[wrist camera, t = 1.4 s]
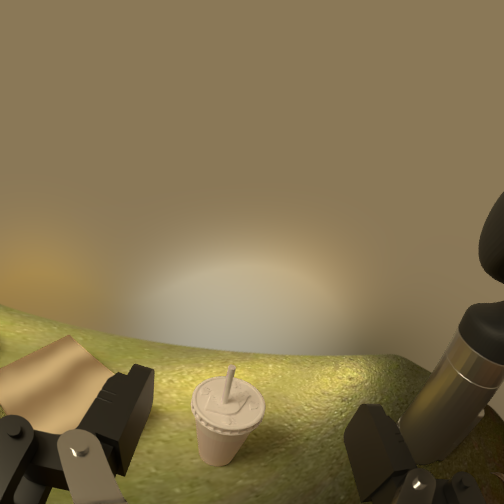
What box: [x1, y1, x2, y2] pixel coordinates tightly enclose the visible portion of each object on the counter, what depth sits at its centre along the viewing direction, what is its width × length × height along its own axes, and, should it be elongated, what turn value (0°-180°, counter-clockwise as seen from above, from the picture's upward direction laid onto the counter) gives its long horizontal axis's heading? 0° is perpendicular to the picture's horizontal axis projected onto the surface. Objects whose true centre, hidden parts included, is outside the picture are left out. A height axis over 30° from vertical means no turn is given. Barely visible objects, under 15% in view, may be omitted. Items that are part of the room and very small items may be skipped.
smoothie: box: [191, 365, 265, 466], centre depth 23 cm, size 6×6×14 cm
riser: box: [0, 335, 115, 434], centre depth 23 cm, size 14×14×4 cm
